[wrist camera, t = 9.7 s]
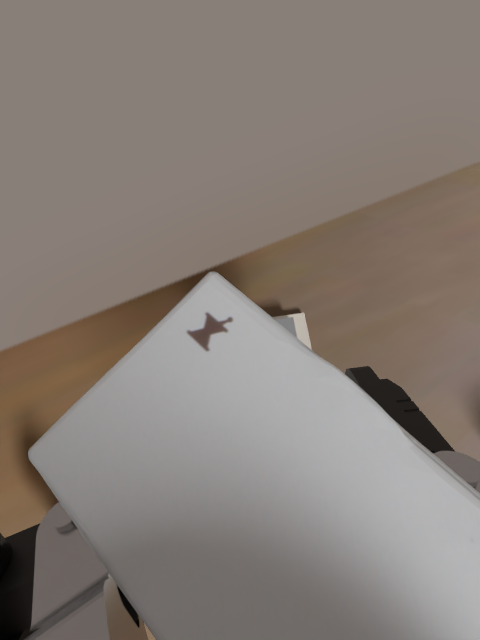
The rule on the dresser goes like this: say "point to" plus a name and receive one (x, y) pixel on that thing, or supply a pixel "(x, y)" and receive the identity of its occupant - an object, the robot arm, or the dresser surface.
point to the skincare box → (261, 490)
